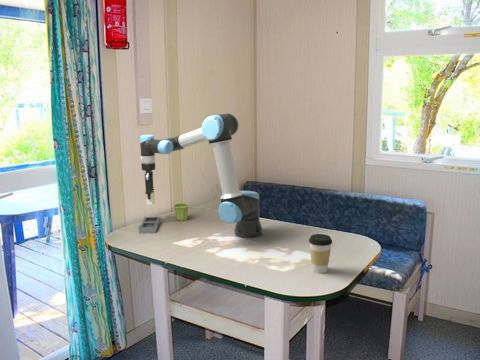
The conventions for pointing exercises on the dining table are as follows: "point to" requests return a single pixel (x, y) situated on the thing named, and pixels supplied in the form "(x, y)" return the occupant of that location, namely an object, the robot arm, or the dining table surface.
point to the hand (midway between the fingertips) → (150, 203)
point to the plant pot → (181, 211)
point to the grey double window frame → (150, 225)
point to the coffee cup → (320, 252)
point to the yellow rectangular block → (152, 198)
